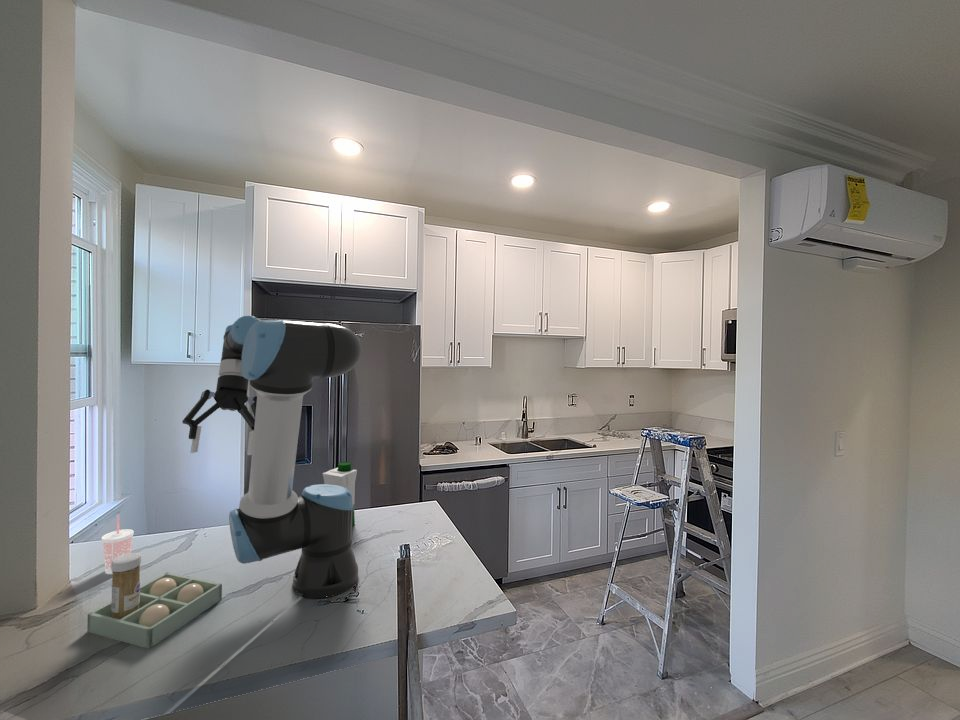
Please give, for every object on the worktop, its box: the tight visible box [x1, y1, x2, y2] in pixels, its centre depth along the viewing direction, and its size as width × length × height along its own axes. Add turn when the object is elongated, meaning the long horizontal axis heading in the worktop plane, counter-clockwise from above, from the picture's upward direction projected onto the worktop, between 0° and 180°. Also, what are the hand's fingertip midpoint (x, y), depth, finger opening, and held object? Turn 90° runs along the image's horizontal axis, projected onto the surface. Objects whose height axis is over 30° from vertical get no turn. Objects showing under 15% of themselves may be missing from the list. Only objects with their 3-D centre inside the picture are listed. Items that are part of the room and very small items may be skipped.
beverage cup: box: [101, 514, 135, 575], centre depth 103 cm, size 6×6×14 cm
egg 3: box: [177, 583, 204, 603], centre depth 88 cm, size 5×5×5 cm
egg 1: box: [149, 578, 177, 597], centre depth 90 cm, size 5×5×5 cm
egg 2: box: [139, 604, 170, 627], centre depth 81 cm, size 5×5×5 cm
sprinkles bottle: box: [111, 552, 142, 620], centre depth 83 cm, size 5×5×14 cm
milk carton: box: [322, 461, 358, 526], centre depth 131 cm, size 9×9×20 cm
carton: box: [86, 572, 223, 649], centre depth 86 cm, size 16×16×4 cm
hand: (223, 453), depth 109 cm, fingers open, 13 cm apart
